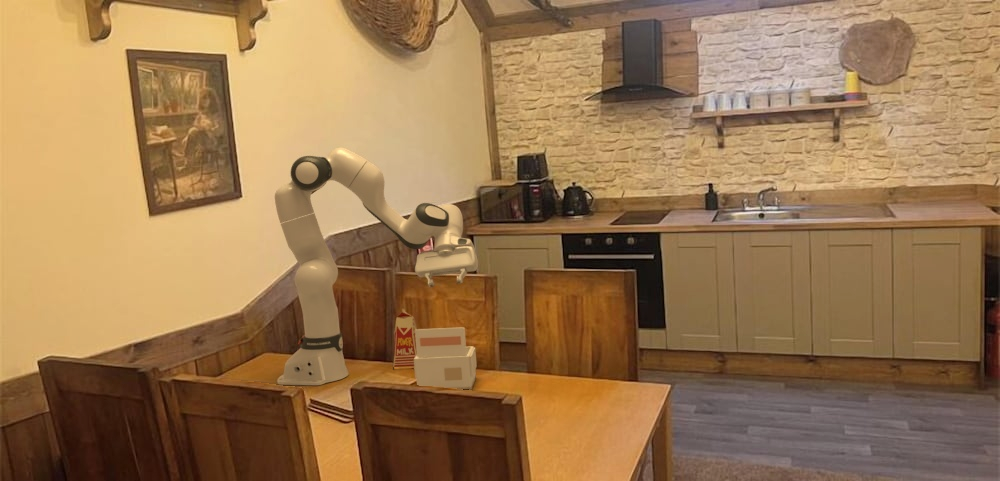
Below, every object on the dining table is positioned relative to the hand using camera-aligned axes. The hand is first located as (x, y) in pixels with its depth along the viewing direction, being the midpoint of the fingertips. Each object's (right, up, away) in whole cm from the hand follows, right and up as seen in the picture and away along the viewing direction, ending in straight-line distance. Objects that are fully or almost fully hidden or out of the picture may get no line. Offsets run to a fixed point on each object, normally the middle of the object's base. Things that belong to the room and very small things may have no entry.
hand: (445, 284), depth 229 cm
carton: (+1, -30, -8) cm, 31 cm away
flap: (0, -16, -15) cm, 22 cm away
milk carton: (-14, -29, +17) cm, 36 cm away
